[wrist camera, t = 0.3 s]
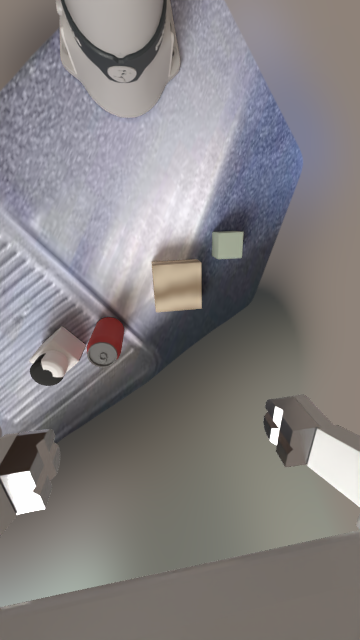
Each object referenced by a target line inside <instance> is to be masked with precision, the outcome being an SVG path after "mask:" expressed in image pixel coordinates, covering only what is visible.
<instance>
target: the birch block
mask: <svg viewBox="0 0 360 640" xmlns="http://www.w3.org/2000/svg"><path fill="white" fill-rule="evenodd" d="M152 274H153V286H154V298H155V308H156V312H166V311H178V310H189V309H201V262H200V261H199V260H197V259H189V260H173V261H157V262H152Z"/></svg>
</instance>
